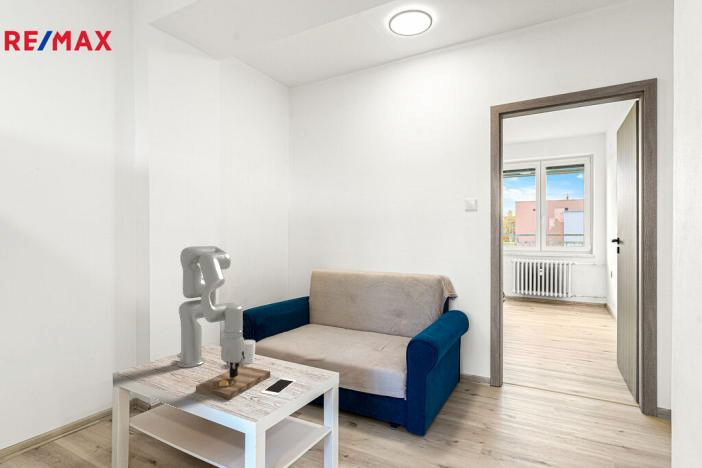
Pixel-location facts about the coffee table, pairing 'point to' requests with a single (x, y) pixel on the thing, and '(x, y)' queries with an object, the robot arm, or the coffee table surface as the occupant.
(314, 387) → the coffee table surface
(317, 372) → the coffee table surface
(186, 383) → the coffee table surface
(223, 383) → the ball
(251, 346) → the white cup
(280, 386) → the cell phone
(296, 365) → the coffee table surface
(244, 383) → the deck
